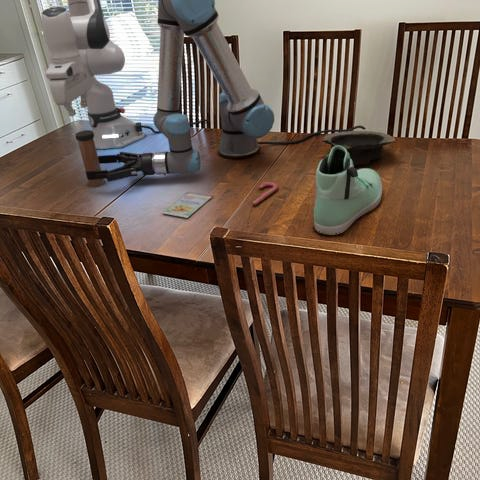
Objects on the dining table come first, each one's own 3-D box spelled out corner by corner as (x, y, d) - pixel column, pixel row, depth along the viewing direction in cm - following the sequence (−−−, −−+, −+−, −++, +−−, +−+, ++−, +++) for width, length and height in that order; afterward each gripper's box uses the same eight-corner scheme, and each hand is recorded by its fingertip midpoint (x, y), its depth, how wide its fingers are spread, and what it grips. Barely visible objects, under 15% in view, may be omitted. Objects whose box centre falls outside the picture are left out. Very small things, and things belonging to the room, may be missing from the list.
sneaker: (389, 187, 148) (396, 123, 138) (356, 242, 123) (361, 168, 112) (346, 181, 154) (350, 119, 144) (306, 232, 129) (307, 161, 118)
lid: (94, 139, 157) (93, 134, 156) (76, 142, 155) (75, 137, 155) (94, 133, 162) (92, 129, 161) (76, 136, 160) (74, 131, 159)
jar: (104, 185, 166) (92, 135, 156) (89, 187, 164) (76, 138, 155) (103, 179, 170) (92, 130, 161) (88, 182, 169) (76, 133, 159)
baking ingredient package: (162, 212, 143) (188, 192, 155) (162, 213, 144) (188, 193, 155) (187, 216, 140) (211, 196, 151) (187, 218, 140) (212, 197, 151)
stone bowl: (352, 176, 156) (352, 149, 152) (308, 158, 177) (307, 134, 172) (409, 157, 165) (411, 131, 161) (361, 143, 185) (362, 119, 181)
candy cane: (239, 202, 147) (239, 198, 146) (265, 183, 157) (265, 179, 156) (255, 207, 144) (255, 202, 143) (281, 187, 154) (281, 183, 153)
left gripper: (72, 59, 156) (82, 102, 163) (42, 74, 139) (55, 121, 146) (90, 59, 155) (100, 101, 162) (62, 73, 138) (74, 120, 145)
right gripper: (149, 189, 153) (84, 193, 154) (161, 160, 175) (104, 163, 176) (145, 167, 149) (79, 171, 150) (158, 140, 171) (100, 144, 172)
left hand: (78, 111), depth 154 cm, fingers open, 8 cm apart
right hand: (92, 167), depth 163 cm, fingers open, 13 cm apart
